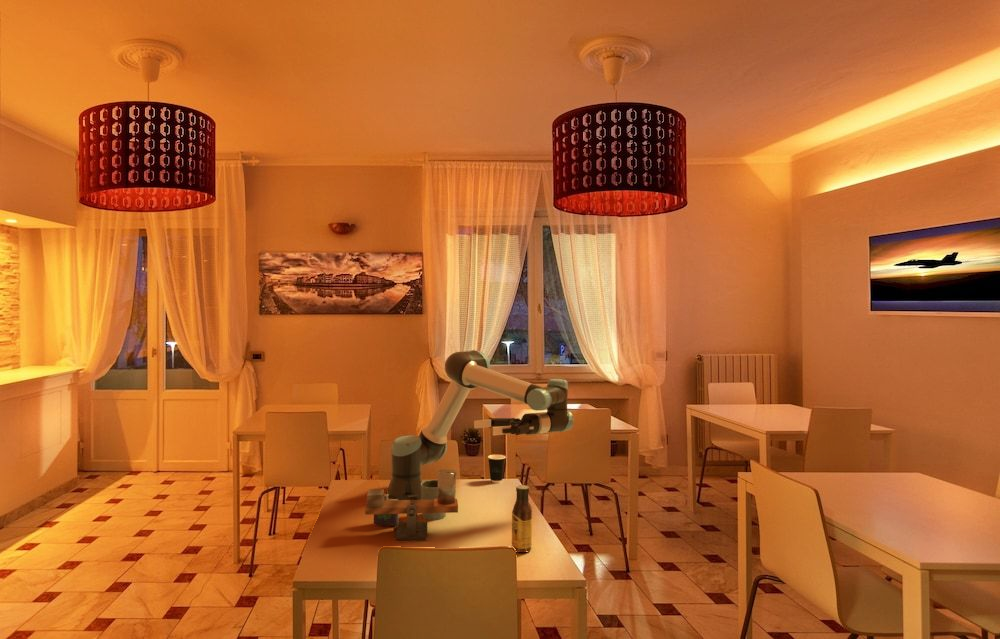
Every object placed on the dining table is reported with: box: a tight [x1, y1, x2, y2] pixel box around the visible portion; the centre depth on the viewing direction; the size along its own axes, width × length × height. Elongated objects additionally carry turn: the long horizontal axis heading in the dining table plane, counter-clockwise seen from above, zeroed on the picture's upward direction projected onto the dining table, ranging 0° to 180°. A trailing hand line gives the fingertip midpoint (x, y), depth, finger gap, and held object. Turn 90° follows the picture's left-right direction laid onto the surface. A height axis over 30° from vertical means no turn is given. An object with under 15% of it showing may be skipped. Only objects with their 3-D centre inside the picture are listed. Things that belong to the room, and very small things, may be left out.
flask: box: [373, 493, 400, 528], centre depth 208 cm, size 9×3×11 cm, turn 74°
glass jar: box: [437, 469, 457, 505], centre depth 201 cm, size 6×6×10 cm
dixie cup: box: [487, 454, 507, 484], centre depth 264 cm, size 8×8×11 cm
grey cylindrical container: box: [420, 479, 447, 521], centre depth 217 cm, size 10×10×12 cm
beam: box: [364, 488, 459, 515], centre depth 199 cm, size 30×9×6 cm, turn 96°
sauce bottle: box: [511, 484, 533, 553], centre depth 186 cm, size 6×6×20 cm
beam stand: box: [395, 495, 428, 542], centre depth 199 cm, size 10×14×11 cm
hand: (483, 427), depth 207 cm, fingers open, 13 cm apart
